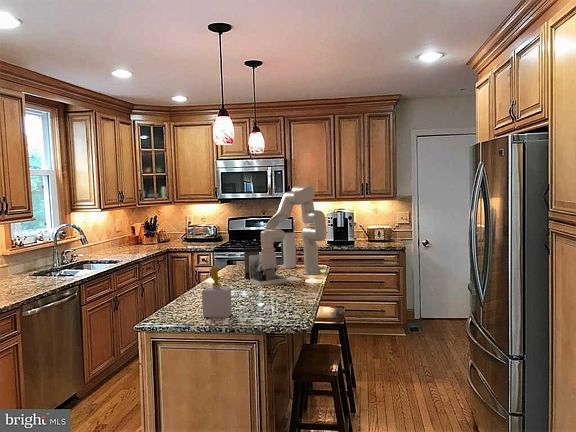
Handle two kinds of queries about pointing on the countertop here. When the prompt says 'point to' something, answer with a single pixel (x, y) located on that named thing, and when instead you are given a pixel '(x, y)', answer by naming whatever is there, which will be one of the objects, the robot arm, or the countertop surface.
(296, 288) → the countertop surface
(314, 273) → the robot arm
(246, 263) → the electronic device
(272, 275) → the block
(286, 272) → the countertop surface
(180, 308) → the countertop surface
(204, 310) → the soap bottle
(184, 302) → the countertop surface
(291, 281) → the flat beige panel
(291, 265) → the speaker
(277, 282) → the case
